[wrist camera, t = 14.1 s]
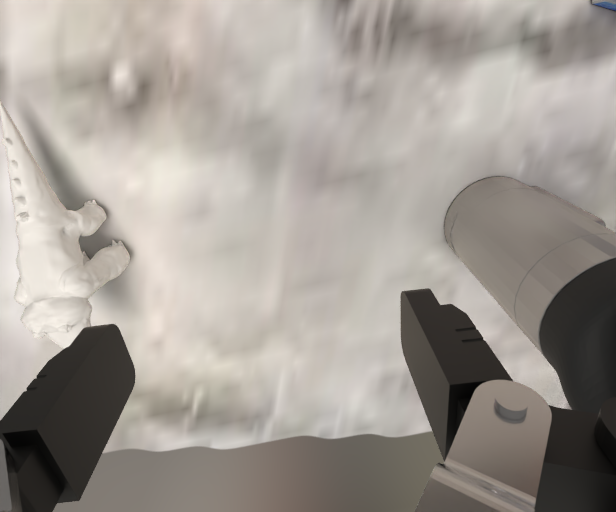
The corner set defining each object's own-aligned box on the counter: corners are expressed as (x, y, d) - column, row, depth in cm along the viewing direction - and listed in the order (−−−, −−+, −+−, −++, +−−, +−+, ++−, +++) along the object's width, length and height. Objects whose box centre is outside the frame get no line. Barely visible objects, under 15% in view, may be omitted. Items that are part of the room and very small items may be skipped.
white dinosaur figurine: (103, 333, 44) (42, 404, 33) (-4, 105, 35) (-129, 105, 25) (162, 321, 43) (119, 388, 33) (69, 87, 35) (-28, 79, 25)
